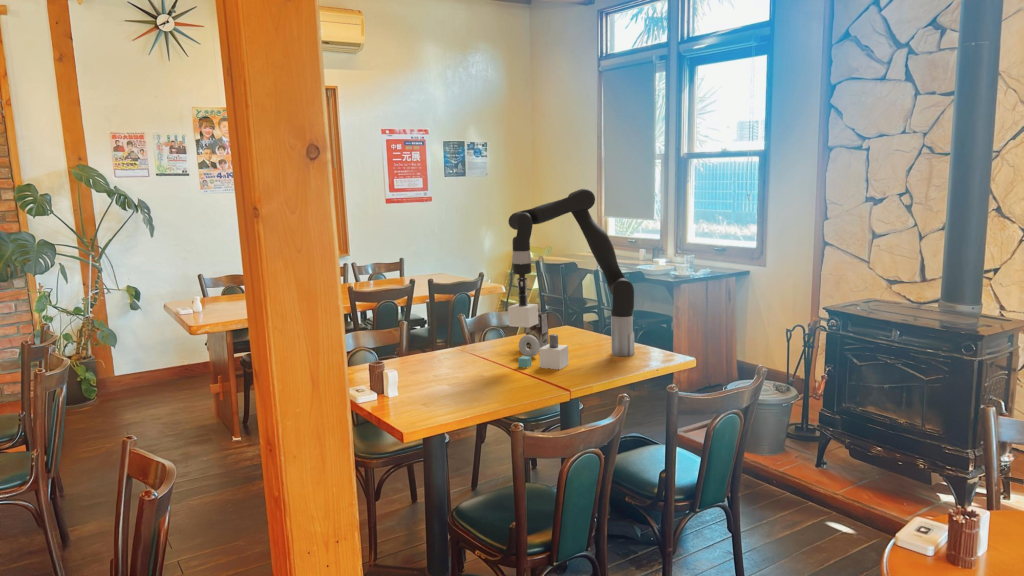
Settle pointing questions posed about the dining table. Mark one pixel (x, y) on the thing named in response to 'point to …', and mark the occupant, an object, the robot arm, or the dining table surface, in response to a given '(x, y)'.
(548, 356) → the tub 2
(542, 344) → the grey mechanical block
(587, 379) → the dining table surface
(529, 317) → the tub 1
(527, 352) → the donut
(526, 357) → the cube
